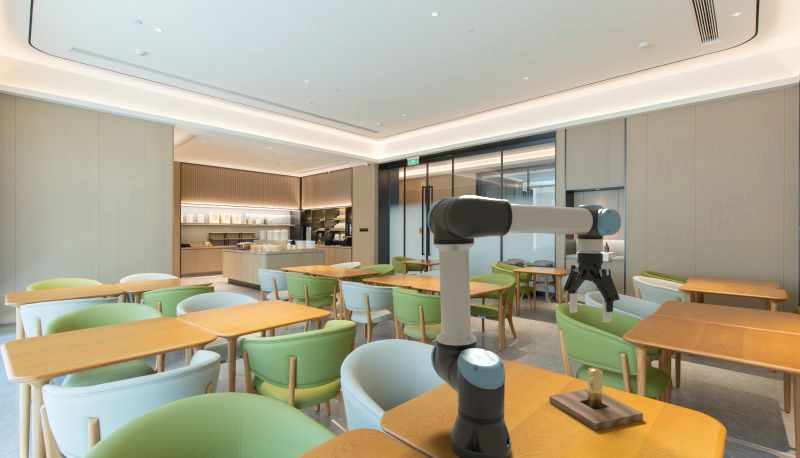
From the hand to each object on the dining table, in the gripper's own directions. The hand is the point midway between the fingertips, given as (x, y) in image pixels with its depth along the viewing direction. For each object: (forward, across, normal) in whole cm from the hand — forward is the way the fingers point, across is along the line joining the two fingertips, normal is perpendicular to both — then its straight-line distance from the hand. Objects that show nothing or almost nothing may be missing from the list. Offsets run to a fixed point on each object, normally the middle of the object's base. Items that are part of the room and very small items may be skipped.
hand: (589, 317), depth 125 cm
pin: (+26, -7, +5) cm, 28 cm away
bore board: (+27, -7, +5) cm, 28 cm away
